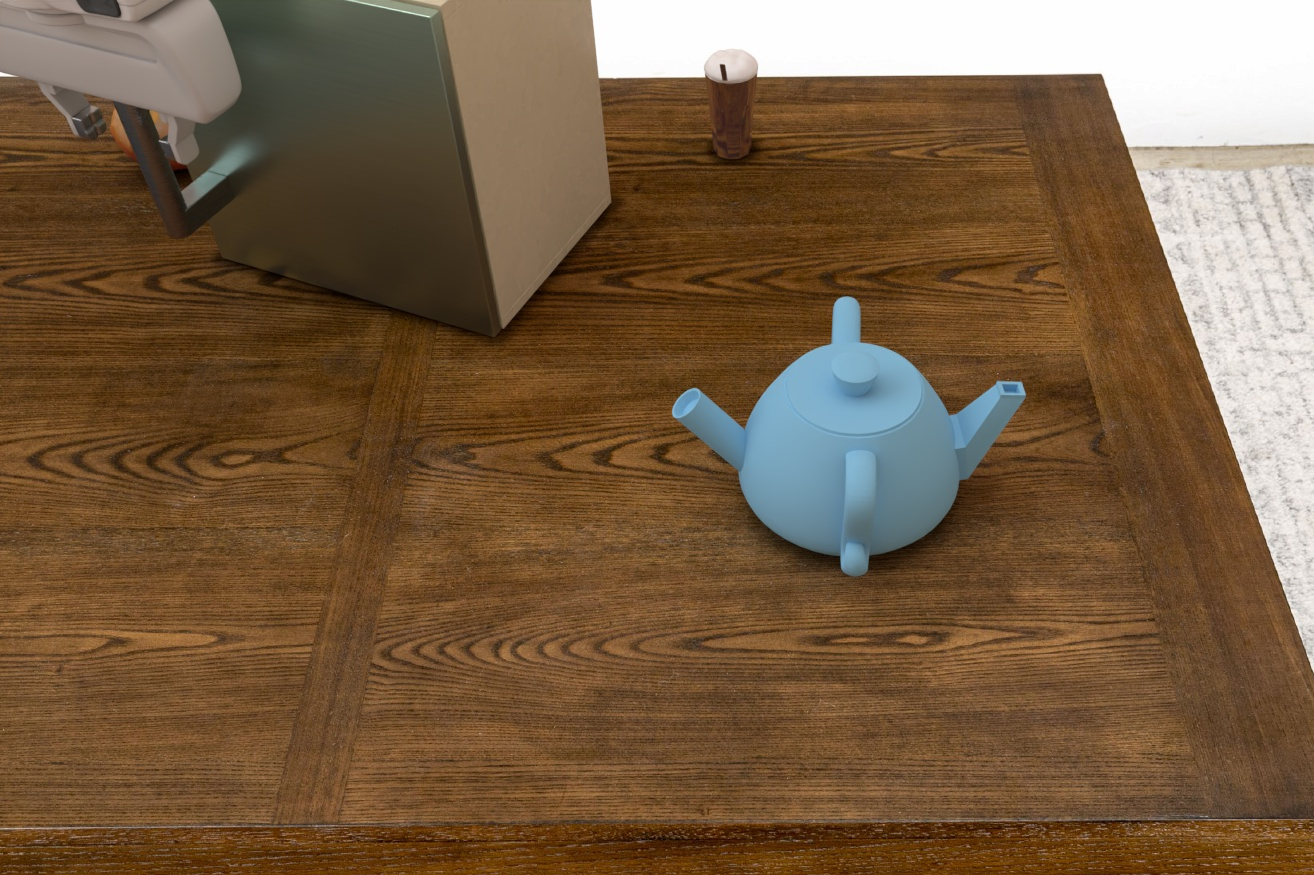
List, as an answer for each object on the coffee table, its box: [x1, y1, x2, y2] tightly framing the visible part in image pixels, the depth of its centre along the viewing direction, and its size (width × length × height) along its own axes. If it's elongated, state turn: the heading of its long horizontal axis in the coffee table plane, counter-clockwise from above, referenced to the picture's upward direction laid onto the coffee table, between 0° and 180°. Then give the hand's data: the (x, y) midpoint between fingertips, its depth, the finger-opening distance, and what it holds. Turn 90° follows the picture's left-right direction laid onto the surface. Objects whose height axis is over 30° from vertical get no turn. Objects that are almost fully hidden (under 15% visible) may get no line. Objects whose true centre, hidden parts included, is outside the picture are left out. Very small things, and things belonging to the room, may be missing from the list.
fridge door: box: [112, 0, 502, 338], centre depth 89 cm, size 7×26×26 cm, turn 66°
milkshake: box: [703, 48, 759, 160], centre depth 109 cm, size 4×5×10 cm
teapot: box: [671, 296, 1027, 578], centre depth 81 cm, size 15×17×11 cm
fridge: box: [392, 0, 612, 330], centre depth 97 cm, size 18×26×26 cm
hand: (137, 146), depth 89 cm, fingers open, 7 cm apart
